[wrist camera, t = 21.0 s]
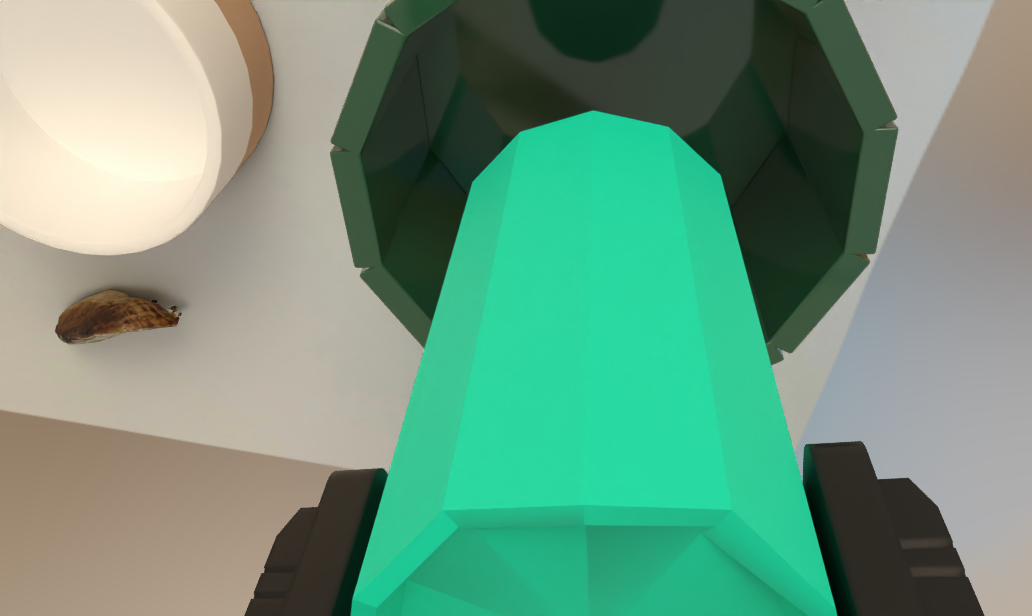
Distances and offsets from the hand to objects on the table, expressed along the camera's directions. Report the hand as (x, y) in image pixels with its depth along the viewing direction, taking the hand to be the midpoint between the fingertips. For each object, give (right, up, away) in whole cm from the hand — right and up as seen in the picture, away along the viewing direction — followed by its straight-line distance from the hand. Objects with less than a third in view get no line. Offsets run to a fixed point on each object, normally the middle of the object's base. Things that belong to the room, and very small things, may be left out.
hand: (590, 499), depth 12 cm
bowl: (-24, +18, +37) cm, 47 cm away
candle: (+1, +4, +6) cm, 8 cm away
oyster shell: (-29, +3, +47) cm, 55 cm away
